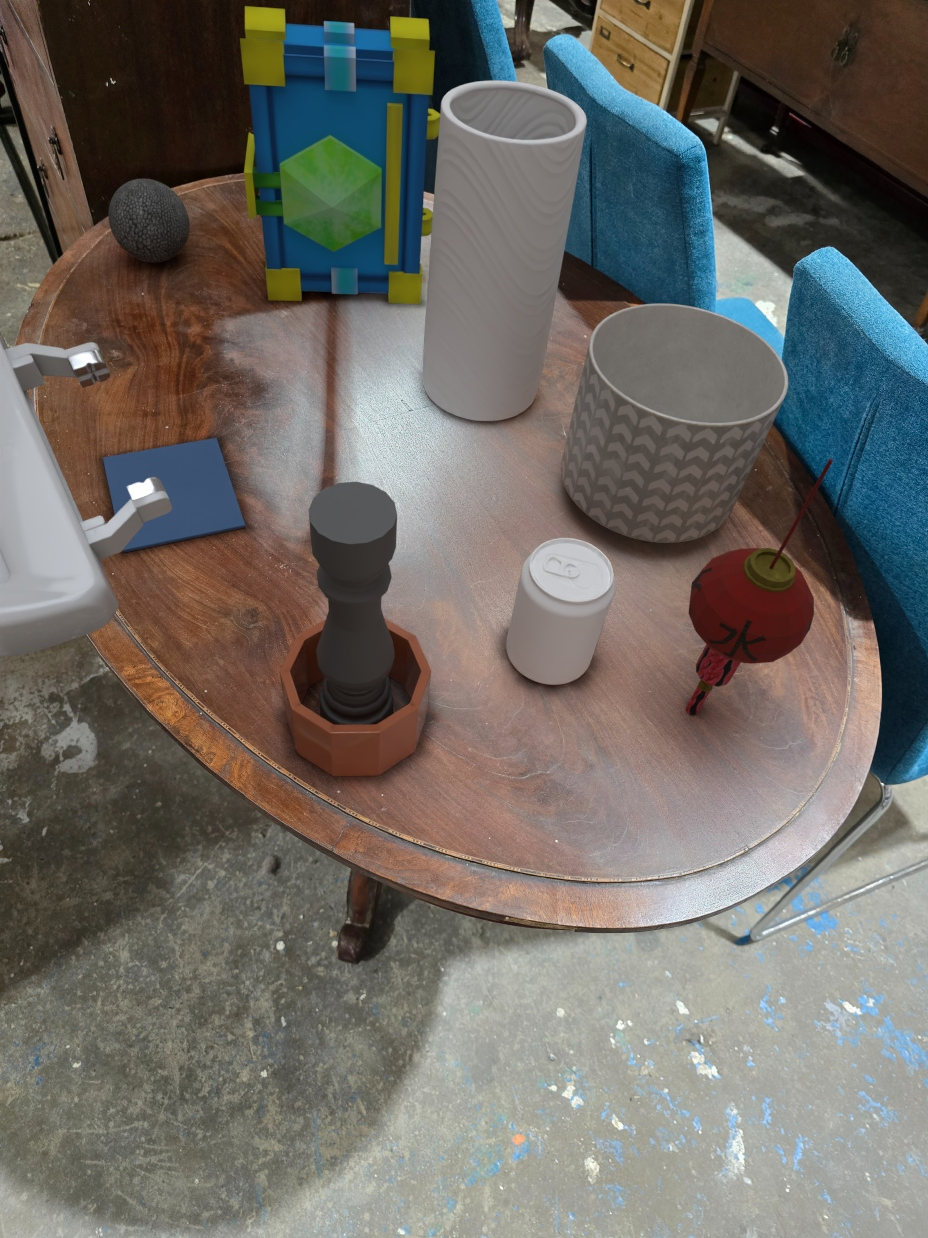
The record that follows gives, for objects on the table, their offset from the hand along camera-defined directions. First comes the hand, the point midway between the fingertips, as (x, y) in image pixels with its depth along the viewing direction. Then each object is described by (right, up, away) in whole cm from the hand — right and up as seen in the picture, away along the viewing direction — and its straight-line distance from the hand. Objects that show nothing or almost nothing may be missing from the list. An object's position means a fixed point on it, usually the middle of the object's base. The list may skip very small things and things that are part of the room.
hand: (134, 424), depth 49 cm
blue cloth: (-12, +2, +41) cm, 43 cm away
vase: (+21, +17, +57) cm, 63 cm away
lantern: (+39, -19, +30) cm, 53 cm away
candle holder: (+9, -20, +27) cm, 34 cm away
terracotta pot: (+9, -19, +26) cm, 34 cm away
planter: (+38, +2, +47) cm, 61 cm away
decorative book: (+3, +34, +68) cm, 77 cm away
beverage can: (+27, -14, +33) cm, 44 cm away
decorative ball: (-23, +38, +68) cm, 82 cm away
